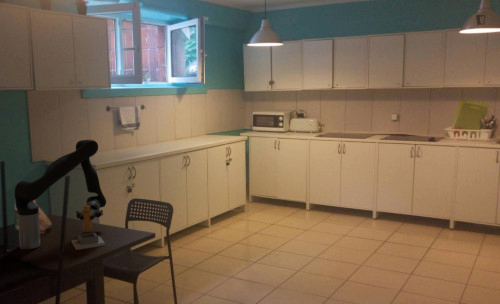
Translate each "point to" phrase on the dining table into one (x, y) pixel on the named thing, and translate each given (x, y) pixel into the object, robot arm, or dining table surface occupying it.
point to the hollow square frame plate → (88, 241)
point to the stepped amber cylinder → (87, 219)
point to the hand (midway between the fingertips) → (86, 218)
